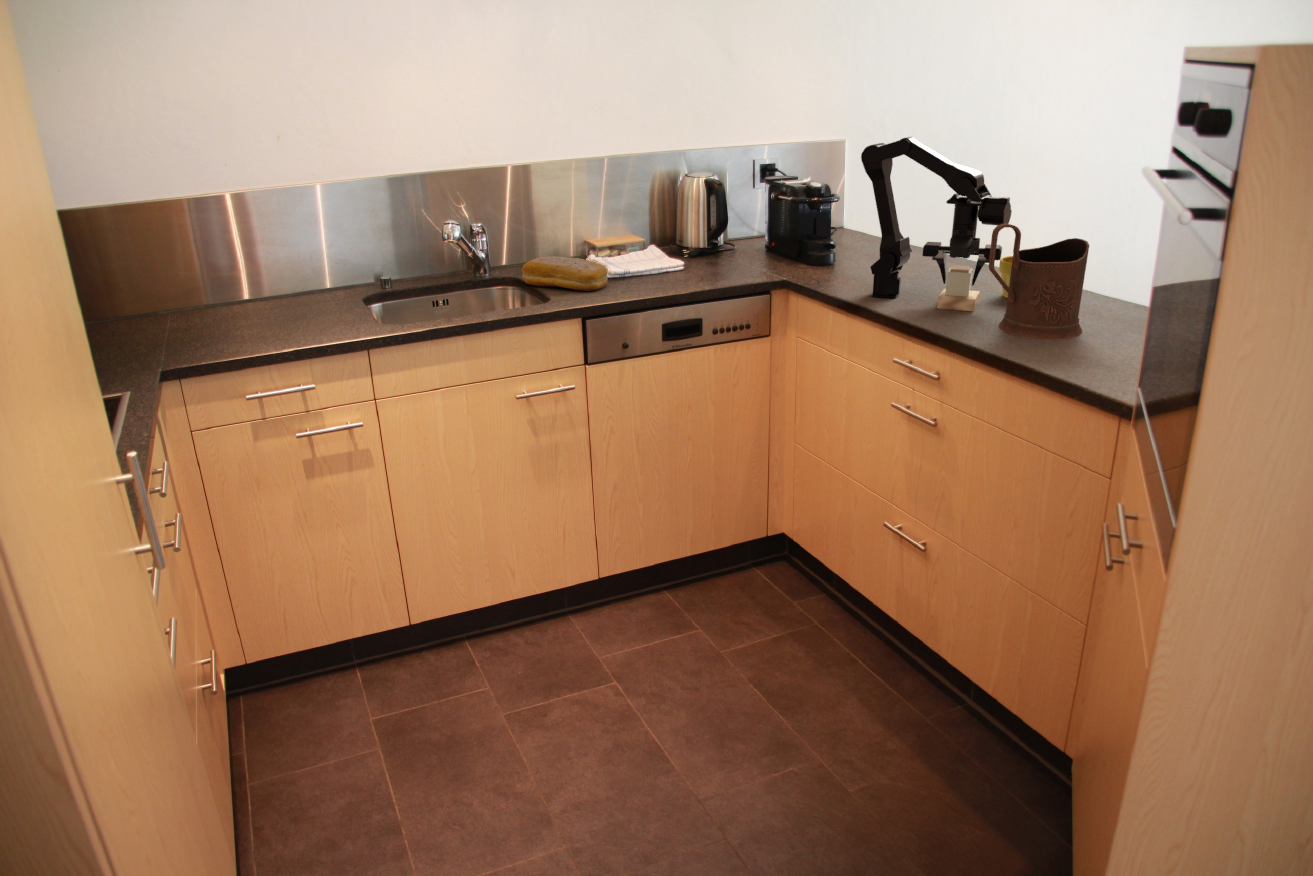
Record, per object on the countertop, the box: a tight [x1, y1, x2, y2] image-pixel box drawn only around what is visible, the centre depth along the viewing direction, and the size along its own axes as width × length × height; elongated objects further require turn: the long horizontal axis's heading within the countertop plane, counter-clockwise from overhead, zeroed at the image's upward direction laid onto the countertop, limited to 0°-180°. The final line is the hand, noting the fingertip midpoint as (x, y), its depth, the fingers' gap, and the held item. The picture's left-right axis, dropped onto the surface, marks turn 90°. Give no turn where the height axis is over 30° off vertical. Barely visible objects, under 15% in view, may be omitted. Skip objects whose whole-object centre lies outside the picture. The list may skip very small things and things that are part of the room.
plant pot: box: [998, 255, 1013, 299], centre depth 244 cm, size 10×10×10 cm
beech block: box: [937, 288, 981, 312], centre depth 238 cm, size 9×9×4 cm
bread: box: [521, 255, 608, 292], centre depth 269 cm, size 13×26×8 cm, turn 65°
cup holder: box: [988, 223, 1090, 341], centre depth 213 cm, size 18×24×25 cm
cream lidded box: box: [945, 264, 973, 297], centre depth 237 cm, size 6×6×7 cm
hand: (958, 284), depth 237 cm, fingers open, 7 cm apart
